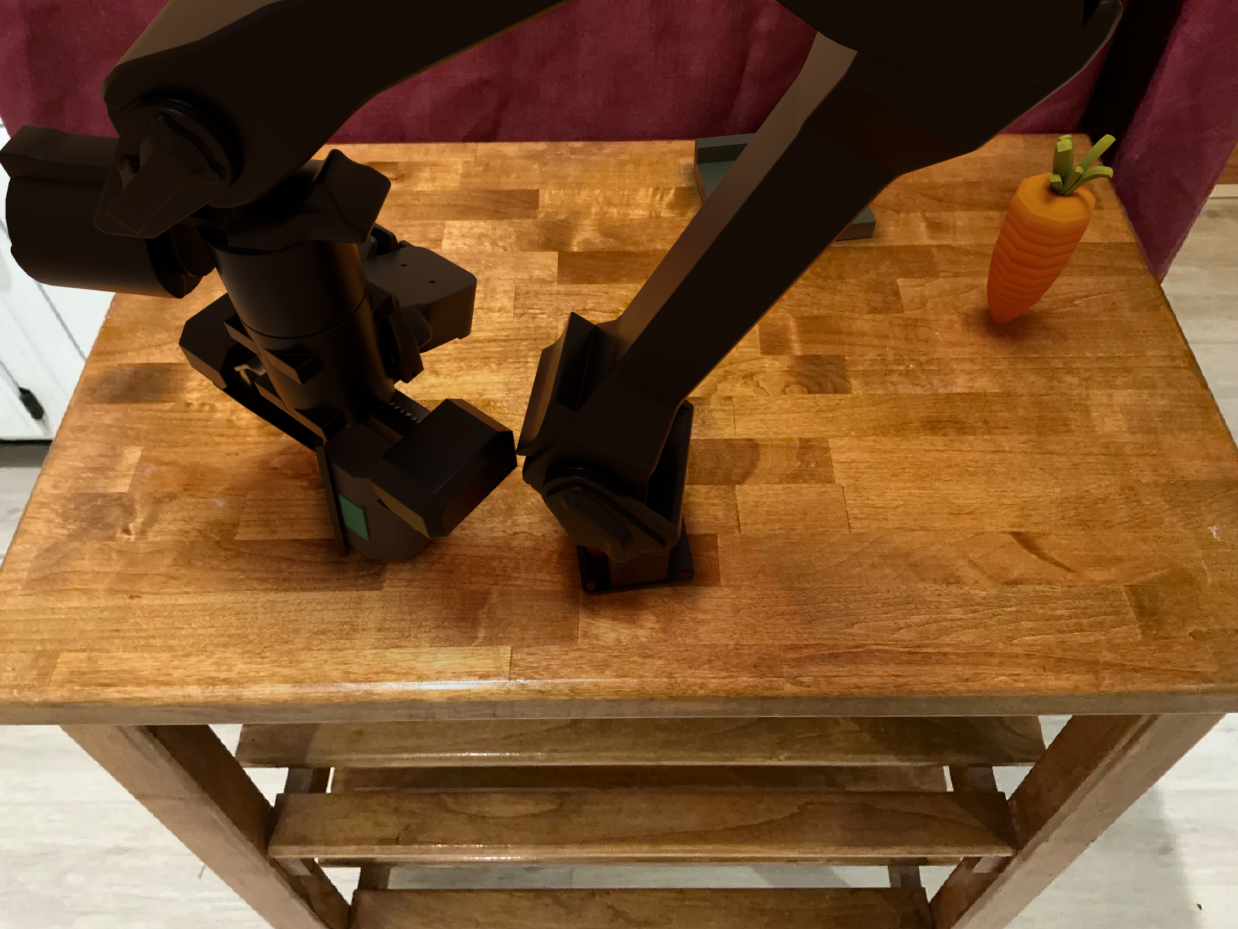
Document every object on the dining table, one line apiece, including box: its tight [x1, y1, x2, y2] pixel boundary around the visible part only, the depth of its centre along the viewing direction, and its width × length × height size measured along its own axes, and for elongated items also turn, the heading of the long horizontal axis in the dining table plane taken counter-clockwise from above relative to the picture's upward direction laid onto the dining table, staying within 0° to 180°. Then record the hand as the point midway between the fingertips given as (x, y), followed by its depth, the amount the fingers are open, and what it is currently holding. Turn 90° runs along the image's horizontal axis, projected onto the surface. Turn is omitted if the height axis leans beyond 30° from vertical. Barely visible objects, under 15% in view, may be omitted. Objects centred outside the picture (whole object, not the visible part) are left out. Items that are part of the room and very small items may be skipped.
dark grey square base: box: [692, 132, 877, 241], centre depth 70 cm, size 10×12×3 cm
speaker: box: [312, 424, 433, 562], centre depth 50 cm, size 8×6×10 cm
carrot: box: [986, 134, 1117, 325], centre depth 57 cm, size 5×5×15 cm
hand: (379, 487), depth 53 cm, fingers open, 9 cm apart
